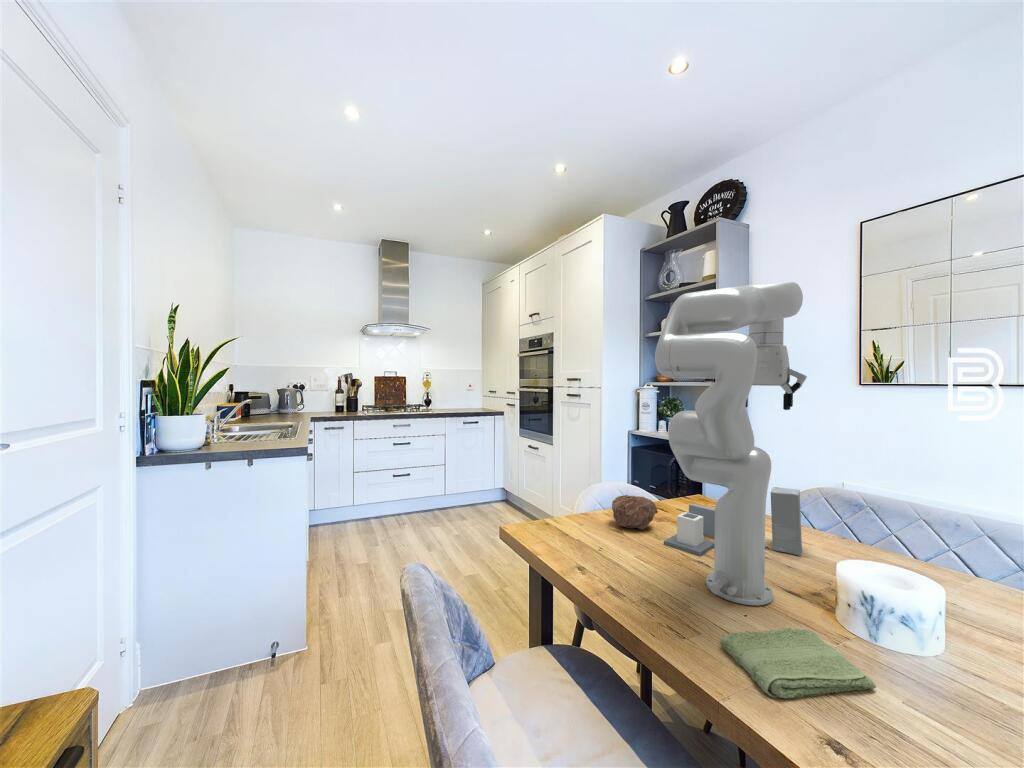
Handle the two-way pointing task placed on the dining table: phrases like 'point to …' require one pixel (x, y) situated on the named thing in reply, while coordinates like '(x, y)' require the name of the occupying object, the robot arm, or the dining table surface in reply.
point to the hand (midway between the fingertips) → (764, 408)
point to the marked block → (690, 529)
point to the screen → (705, 518)
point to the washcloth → (794, 663)
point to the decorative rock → (633, 511)
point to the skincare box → (786, 520)
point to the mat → (697, 550)
